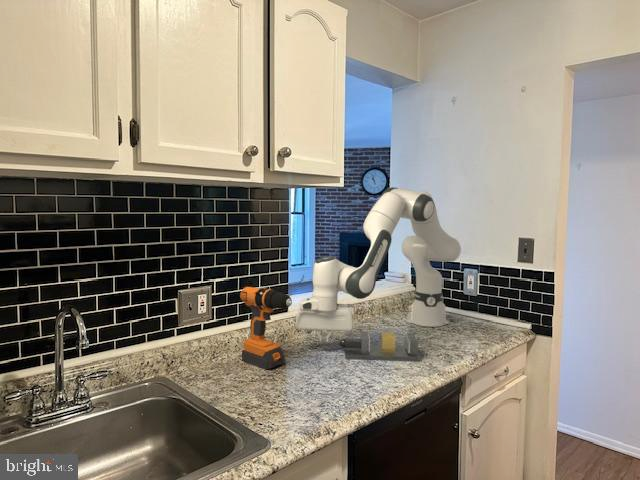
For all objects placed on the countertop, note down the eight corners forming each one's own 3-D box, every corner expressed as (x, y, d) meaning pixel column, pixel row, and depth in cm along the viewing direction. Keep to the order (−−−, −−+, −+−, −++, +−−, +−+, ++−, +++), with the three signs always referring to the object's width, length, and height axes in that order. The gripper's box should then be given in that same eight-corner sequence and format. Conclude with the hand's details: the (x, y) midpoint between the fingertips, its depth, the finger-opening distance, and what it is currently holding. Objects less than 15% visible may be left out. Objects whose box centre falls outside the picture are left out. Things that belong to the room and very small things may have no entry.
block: (380, 348, 157) (381, 331, 157) (393, 348, 157) (394, 331, 156) (382, 352, 153) (382, 335, 152) (395, 352, 153) (395, 335, 152)
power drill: (300, 370, 139) (301, 291, 137) (283, 376, 133) (284, 295, 131) (253, 354, 153) (254, 282, 151) (237, 359, 147) (237, 285, 145)
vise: (344, 347, 162) (345, 330, 161) (413, 349, 160) (414, 332, 160) (344, 358, 150) (345, 340, 149) (419, 361, 148) (420, 342, 148)
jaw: (339, 344, 160) (339, 330, 160) (368, 345, 160) (368, 331, 159) (339, 352, 151) (339, 338, 151) (369, 353, 151) (370, 339, 150)
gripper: (354, 302, 157) (353, 340, 158) (297, 300, 158) (296, 338, 159) (354, 306, 151) (353, 345, 152) (295, 304, 152) (294, 343, 153)
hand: (323, 341), depth 156 cm, fingers closed
